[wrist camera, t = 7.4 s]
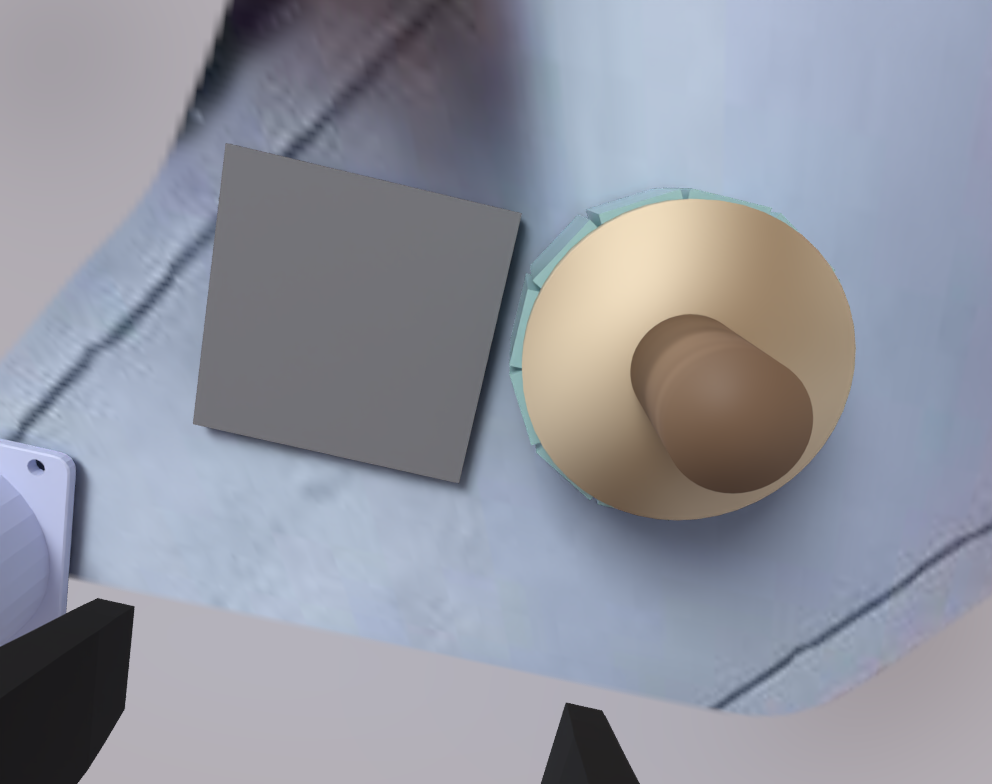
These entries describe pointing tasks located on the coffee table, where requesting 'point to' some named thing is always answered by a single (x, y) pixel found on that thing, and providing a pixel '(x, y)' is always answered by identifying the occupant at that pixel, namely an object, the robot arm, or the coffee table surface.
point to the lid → (687, 358)
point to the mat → (349, 313)
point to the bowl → (556, 253)
